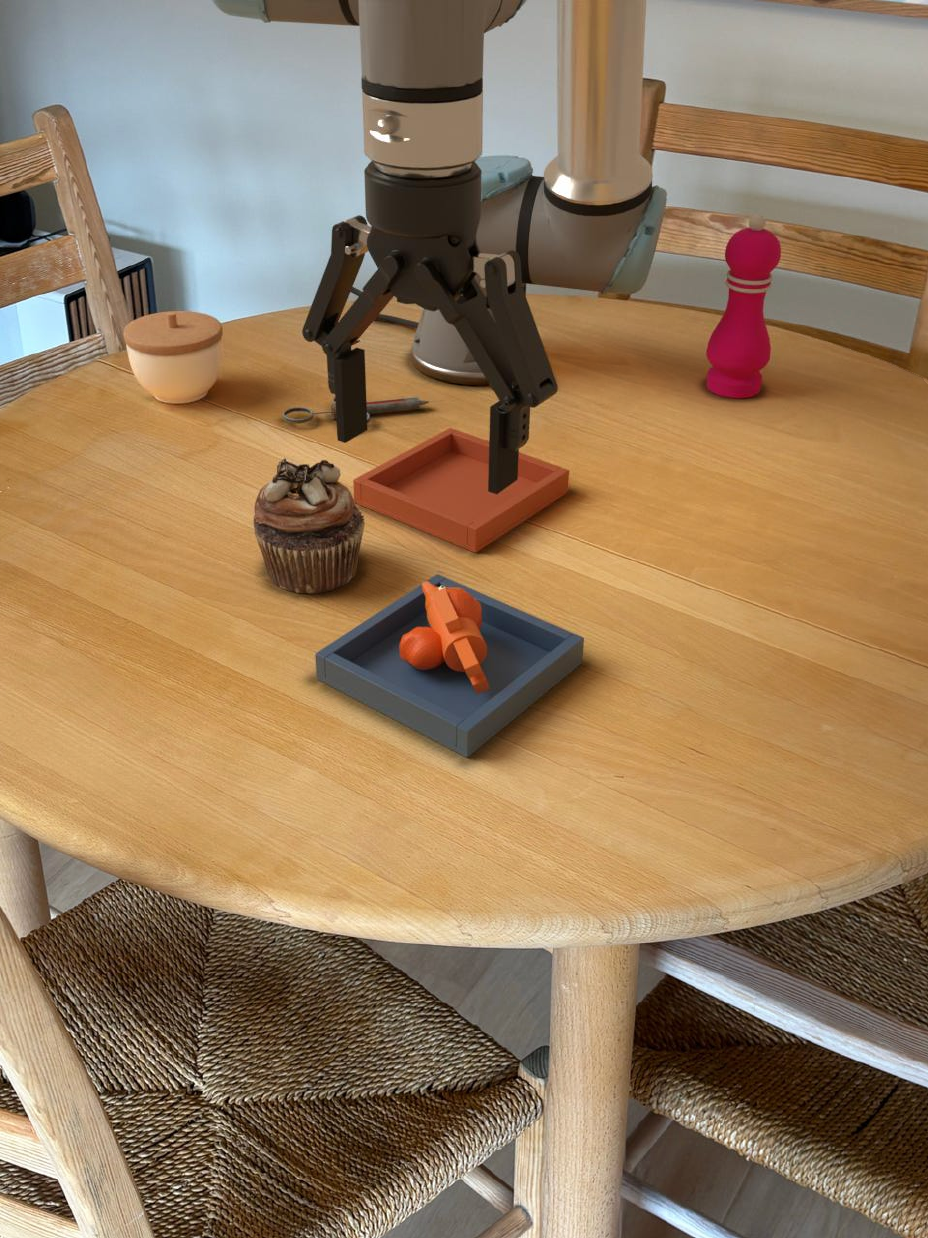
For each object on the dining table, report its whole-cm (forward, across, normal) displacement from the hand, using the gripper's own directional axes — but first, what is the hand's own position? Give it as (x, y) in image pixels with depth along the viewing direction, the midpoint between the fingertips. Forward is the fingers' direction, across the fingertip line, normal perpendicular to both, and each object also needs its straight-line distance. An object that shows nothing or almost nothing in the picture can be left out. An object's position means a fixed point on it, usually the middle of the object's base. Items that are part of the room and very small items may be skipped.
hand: (425, 460), depth 91 cm
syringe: (+18, -32, +32) cm, 48 cm away
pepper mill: (+18, -1, +63) cm, 66 cm away
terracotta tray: (+17, -12, +23) cm, 31 cm away
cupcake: (+17, -15, +4) cm, 23 cm away
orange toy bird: (+17, +3, -1) cm, 17 cm away
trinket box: (+18, -52, +24) cm, 60 cm away
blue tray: (+17, +3, -1) cm, 17 cm away
